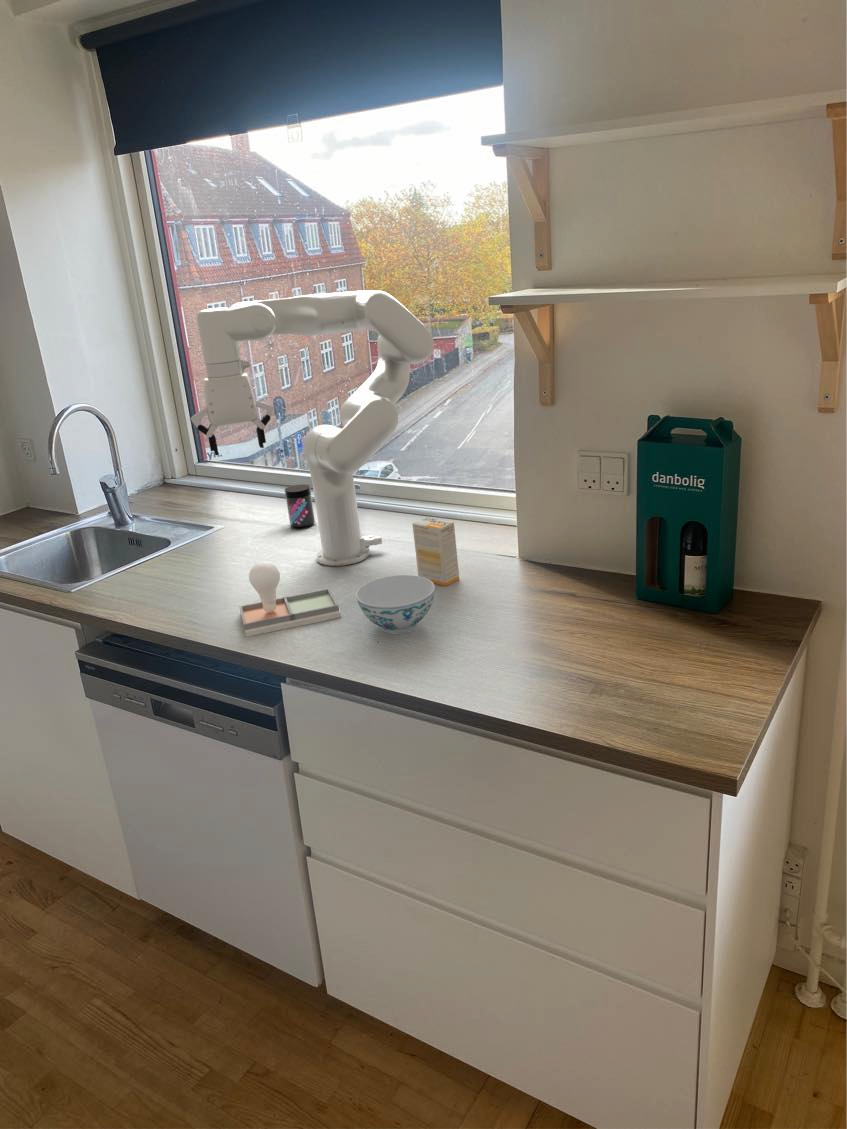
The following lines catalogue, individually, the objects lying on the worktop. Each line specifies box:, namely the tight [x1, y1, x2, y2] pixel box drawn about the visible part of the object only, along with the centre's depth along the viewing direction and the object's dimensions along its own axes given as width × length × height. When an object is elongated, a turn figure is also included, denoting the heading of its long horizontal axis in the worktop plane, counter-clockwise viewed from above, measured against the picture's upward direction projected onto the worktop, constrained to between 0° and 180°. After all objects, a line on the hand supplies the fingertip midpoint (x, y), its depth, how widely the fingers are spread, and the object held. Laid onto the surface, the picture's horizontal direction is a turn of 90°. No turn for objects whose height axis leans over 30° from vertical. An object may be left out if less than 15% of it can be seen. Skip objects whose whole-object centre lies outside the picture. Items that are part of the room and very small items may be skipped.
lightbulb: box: [248, 560, 281, 613], centre depth 175 cm, size 6×6×11 cm
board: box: [238, 587, 342, 637], centre depth 177 cm, size 19×12×2 cm, turn 106°
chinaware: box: [355, 574, 436, 635], centre depth 166 cm, size 15×15×8 cm
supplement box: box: [412, 516, 460, 587], centre depth 185 cm, size 8×5×13 cm, turn 47°
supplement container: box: [284, 484, 316, 530], centre depth 231 cm, size 7×7×10 cm
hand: (239, 450), depth 187 cm, fingers open, 9 cm apart
